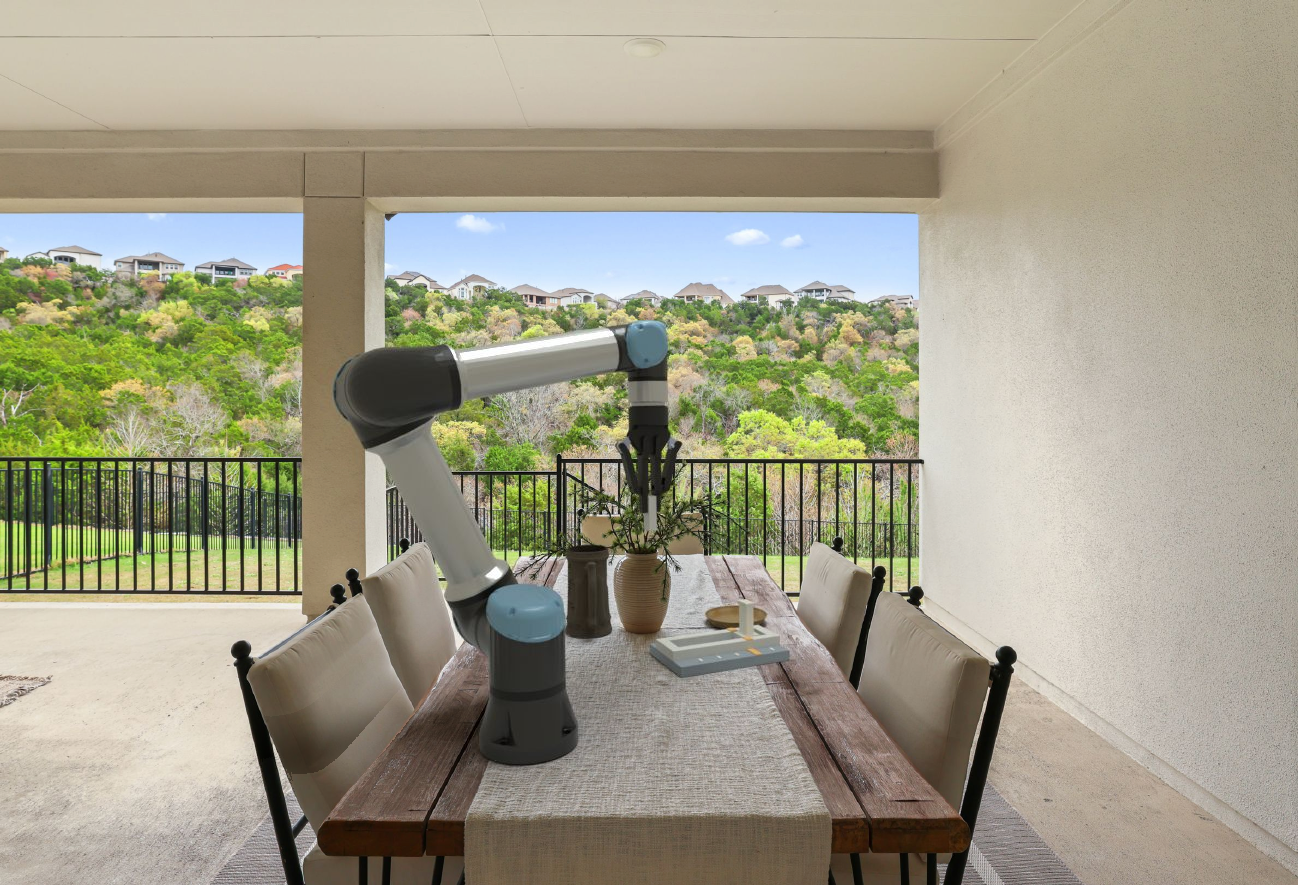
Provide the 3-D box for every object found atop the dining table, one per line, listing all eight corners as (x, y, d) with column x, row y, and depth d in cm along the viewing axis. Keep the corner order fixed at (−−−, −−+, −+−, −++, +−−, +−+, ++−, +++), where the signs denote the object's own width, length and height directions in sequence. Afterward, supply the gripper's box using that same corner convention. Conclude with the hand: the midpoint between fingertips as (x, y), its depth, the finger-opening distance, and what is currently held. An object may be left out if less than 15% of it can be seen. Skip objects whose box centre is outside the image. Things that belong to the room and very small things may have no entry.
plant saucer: (778, 629, 175) (778, 618, 175) (719, 636, 171) (719, 624, 170) (750, 613, 189) (750, 602, 189) (695, 619, 185) (695, 608, 184)
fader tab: (759, 643, 157) (759, 602, 157) (742, 645, 155) (742, 604, 155) (750, 637, 161) (749, 598, 160) (733, 640, 159) (733, 600, 159)
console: (789, 659, 153) (789, 639, 153) (681, 677, 144) (681, 655, 144) (750, 638, 168) (749, 619, 167) (649, 653, 159) (649, 633, 158)
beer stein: (559, 627, 179) (559, 544, 177) (603, 622, 182) (603, 540, 180) (577, 650, 164) (576, 560, 162) (623, 644, 168) (623, 556, 166)
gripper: (671, 404, 147) (673, 524, 148) (608, 405, 143) (611, 529, 144) (688, 404, 141) (690, 530, 142) (622, 405, 136) (624, 535, 137)
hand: (650, 529), depth 143 cm, fingers closed
